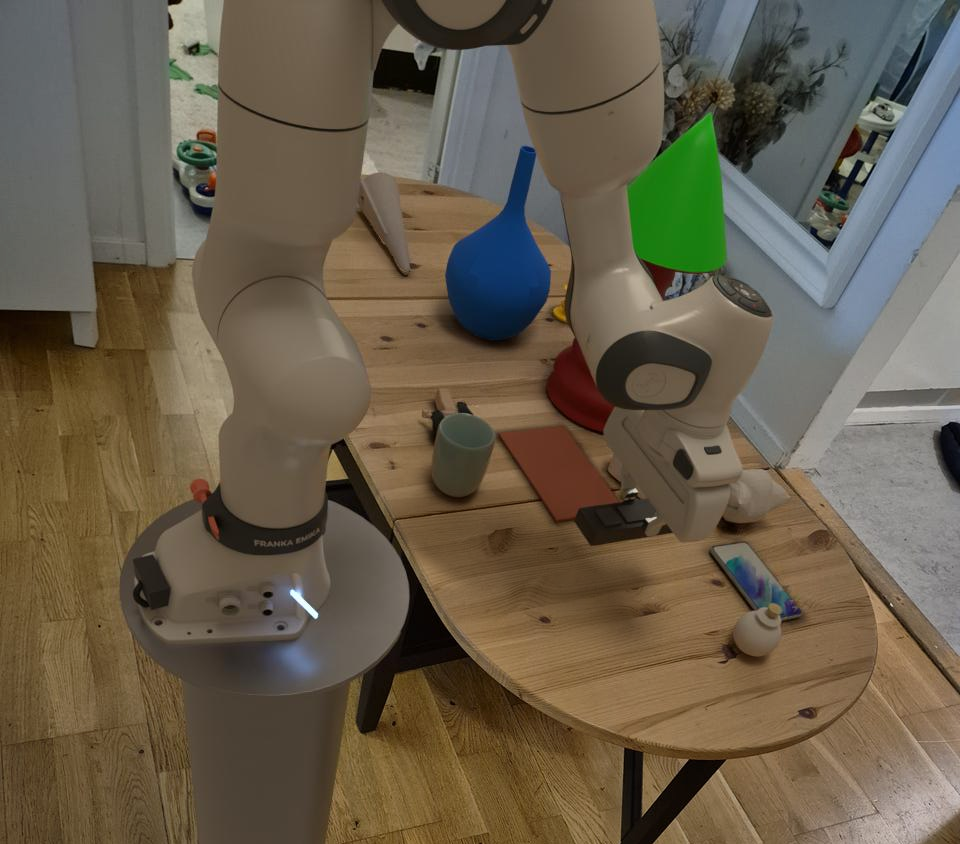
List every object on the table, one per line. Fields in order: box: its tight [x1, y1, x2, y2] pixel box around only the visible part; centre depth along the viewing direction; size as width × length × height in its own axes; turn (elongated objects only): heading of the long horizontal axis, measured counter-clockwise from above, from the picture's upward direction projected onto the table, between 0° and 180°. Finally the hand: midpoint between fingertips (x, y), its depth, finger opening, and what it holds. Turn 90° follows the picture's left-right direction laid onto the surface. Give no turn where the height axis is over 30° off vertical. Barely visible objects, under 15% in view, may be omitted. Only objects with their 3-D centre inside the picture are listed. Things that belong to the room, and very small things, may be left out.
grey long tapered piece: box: [357, 171, 411, 276], centre depth 161 cm, size 8×9×26 cm
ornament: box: [732, 596, 804, 657], centre depth 107 cm, size 6×7×10 cm
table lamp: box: [546, 111, 728, 433], centre depth 125 cm, size 20×20×45 cm
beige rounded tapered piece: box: [721, 468, 791, 524], centre depth 128 cm, size 10×8×15 cm
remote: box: [573, 498, 674, 547], centre depth 103 cm, size 15×5×2 cm, turn 114°
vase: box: [444, 145, 552, 341], centre depth 138 cm, size 18×18×30 cm
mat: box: [498, 425, 620, 523], centre depth 126 cm, size 12×20×1 cm, turn 24°
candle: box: [552, 283, 568, 324], centre depth 152 cm, size 5×5×16 cm
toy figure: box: [421, 387, 474, 438], centre depth 125 cm, size 7×6×15 cm
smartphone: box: [709, 540, 803, 622], centre depth 119 cm, size 7×1×15 cm
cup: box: [430, 412, 496, 498], centre depth 115 cm, size 8×8×10 cm
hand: (636, 516), depth 103 cm, fingers closed on remote, 4 cm apart
